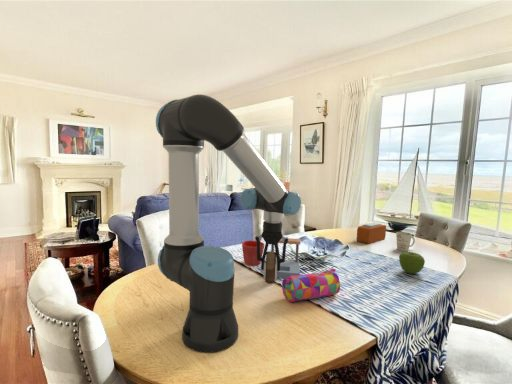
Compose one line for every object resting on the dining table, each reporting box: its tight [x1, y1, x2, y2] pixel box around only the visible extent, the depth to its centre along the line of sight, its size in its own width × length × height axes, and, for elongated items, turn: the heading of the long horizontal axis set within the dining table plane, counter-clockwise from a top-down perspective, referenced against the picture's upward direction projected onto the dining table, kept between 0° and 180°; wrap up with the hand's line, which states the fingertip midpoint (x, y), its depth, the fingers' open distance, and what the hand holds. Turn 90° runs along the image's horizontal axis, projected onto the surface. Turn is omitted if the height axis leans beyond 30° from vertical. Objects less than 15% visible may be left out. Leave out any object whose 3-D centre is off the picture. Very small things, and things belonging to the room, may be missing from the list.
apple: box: [398, 251, 426, 275], centre depth 130 cm, size 11×10×10 cm
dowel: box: [264, 250, 277, 285], centre depth 114 cm, size 4×4×12 cm
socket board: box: [270, 237, 301, 279], centre depth 126 cm, size 16×14×13 cm
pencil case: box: [281, 267, 341, 303], centre depth 102 cm, size 22×9×9 cm, turn 118°
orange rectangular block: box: [356, 222, 387, 245], centre depth 189 cm, size 24×8×11 cm, turn 131°
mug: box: [395, 231, 416, 252], centre depth 170 cm, size 8×13×10 cm, turn 107°
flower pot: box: [241, 240, 265, 267], centre depth 136 cm, size 11×11×10 cm
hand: (270, 277), depth 115 cm, fingers closed on dowel, 4 cm apart
